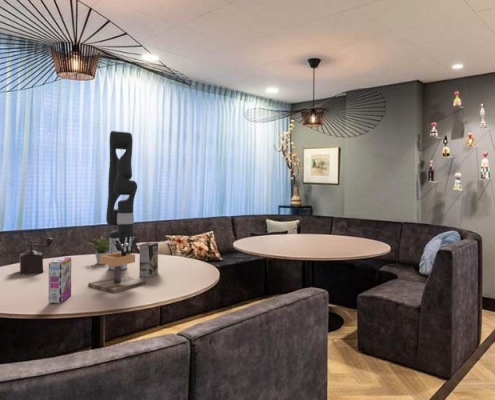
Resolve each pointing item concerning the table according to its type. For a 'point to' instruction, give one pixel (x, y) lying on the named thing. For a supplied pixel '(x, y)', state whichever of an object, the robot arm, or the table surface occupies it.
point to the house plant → (101, 248)
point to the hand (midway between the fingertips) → (125, 258)
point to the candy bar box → (59, 280)
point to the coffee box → (148, 259)
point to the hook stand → (117, 282)
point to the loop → (117, 259)
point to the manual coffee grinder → (33, 259)
